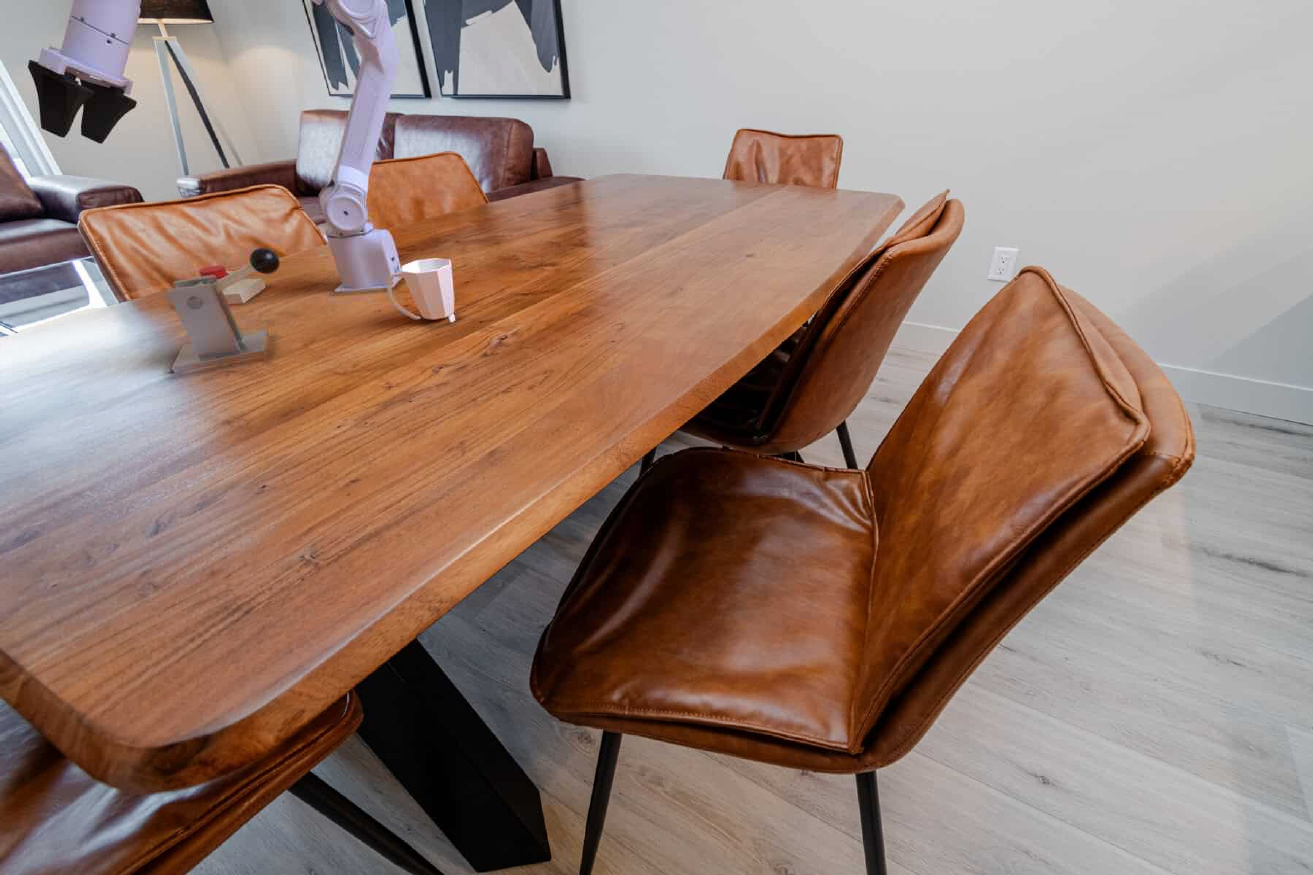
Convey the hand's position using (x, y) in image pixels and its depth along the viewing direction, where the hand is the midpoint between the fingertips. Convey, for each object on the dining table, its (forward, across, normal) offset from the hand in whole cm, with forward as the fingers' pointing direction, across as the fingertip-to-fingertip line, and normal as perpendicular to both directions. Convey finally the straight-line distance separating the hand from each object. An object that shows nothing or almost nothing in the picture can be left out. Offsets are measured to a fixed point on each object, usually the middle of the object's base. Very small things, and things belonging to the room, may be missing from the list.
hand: (73, 136), depth 77 cm
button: (+14, -14, +15) cm, 25 cm away
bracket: (+16, +13, +27) cm, 34 cm away
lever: (+6, +13, +27) cm, 30 cm away
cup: (+1, +9, +48) cm, 49 cm away
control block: (+17, -14, +17) cm, 28 cm away
